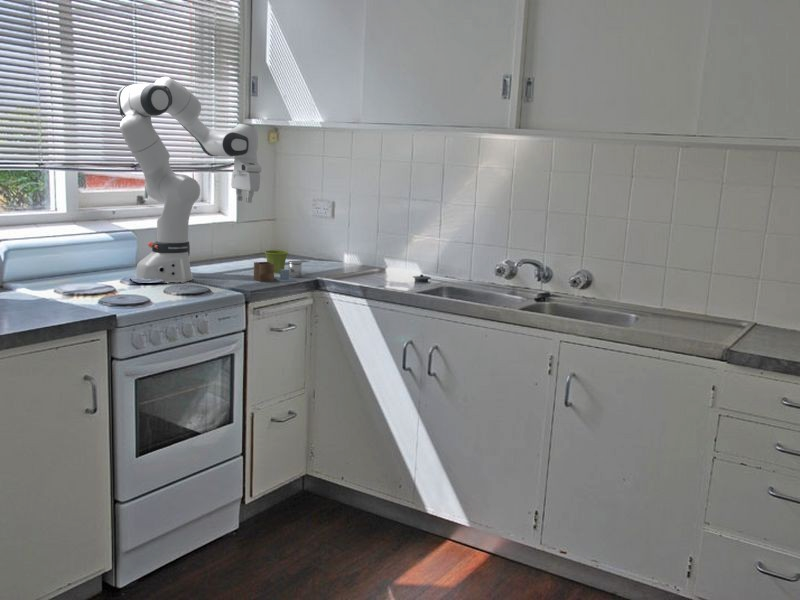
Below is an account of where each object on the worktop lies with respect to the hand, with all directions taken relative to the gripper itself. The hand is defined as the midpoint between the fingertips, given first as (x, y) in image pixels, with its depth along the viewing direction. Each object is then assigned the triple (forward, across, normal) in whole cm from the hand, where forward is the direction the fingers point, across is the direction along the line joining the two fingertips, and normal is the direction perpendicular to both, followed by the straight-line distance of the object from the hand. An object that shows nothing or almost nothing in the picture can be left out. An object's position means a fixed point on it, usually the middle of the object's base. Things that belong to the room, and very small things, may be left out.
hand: (244, 201), depth 334 cm
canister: (+28, +25, -1) cm, 37 cm away
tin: (+28, +21, +13) cm, 37 cm away
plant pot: (+28, +9, +11) cm, 31 cm away
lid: (+28, +28, +6) cm, 40 cm away
